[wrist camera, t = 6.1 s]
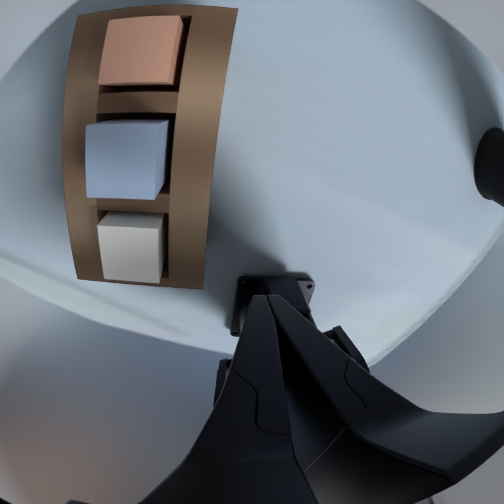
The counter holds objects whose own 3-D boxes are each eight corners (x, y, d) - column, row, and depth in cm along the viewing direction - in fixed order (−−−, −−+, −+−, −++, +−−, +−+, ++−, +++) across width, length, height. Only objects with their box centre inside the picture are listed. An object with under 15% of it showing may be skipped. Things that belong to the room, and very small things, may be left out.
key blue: (167, 176, 14) (154, 199, 11) (113, 175, 14) (86, 197, 10) (172, 119, 13) (158, 123, 9) (115, 118, 12) (85, 125, 9)
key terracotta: (178, 87, 13) (167, 81, 9) (123, 87, 12) (98, 84, 9) (187, 35, 11) (179, 15, 8) (131, 36, 11) (109, 19, 7)
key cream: (167, 248, 17) (159, 283, 14) (121, 245, 17) (104, 278, 14) (168, 201, 16) (157, 228, 13) (118, 199, 15) (97, 225, 12)
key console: (204, 247, 20) (202, 289, 16) (101, 241, 19) (77, 279, 15) (231, 33, 13) (238, 8, 9) (109, 33, 12) (78, 15, 7)
